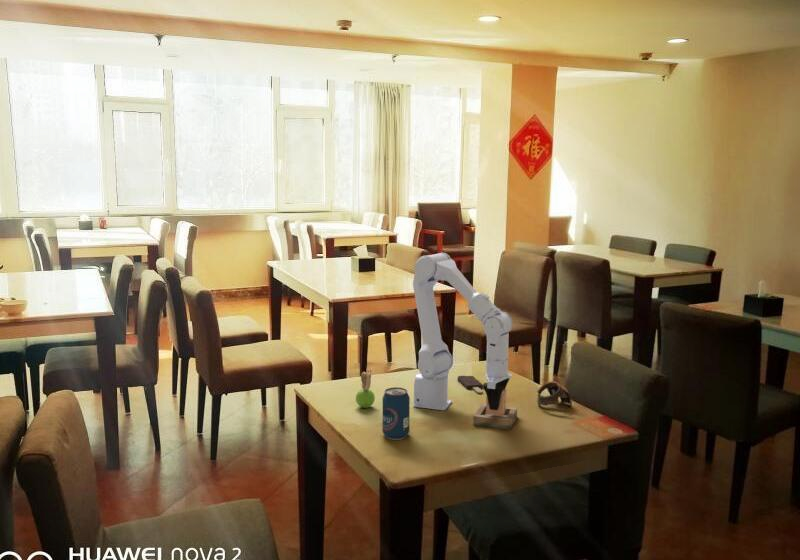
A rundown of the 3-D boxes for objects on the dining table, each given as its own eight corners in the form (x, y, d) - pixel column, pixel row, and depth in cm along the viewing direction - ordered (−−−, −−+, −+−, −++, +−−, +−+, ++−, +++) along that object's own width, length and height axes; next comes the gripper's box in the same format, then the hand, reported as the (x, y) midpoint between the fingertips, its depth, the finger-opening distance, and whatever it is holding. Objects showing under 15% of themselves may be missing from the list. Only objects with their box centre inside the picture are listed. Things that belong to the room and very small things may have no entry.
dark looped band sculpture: (577, 414, 190) (566, 391, 187) (546, 425, 192) (535, 404, 189) (569, 390, 201) (559, 368, 198) (540, 401, 203) (529, 380, 200)
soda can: (376, 436, 173) (376, 391, 171) (394, 428, 178) (394, 384, 176) (397, 443, 168) (397, 397, 166) (414, 435, 173) (415, 390, 171)
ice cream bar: (488, 394, 206) (471, 379, 220) (488, 389, 205) (471, 374, 220) (472, 395, 204) (456, 380, 219) (472, 390, 204) (456, 375, 218)
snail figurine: (361, 412, 189) (360, 371, 187) (353, 405, 195) (352, 365, 193) (378, 410, 191) (378, 369, 189) (370, 402, 197) (370, 363, 195)
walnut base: (473, 424, 180) (473, 415, 180) (481, 412, 190) (481, 403, 189) (510, 429, 177) (510, 420, 177) (516, 416, 186) (517, 408, 186)
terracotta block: (486, 414, 182) (486, 392, 181) (489, 408, 186) (490, 387, 185) (502, 416, 180) (503, 394, 179) (505, 410, 184) (506, 389, 183)
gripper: (506, 367, 172) (505, 417, 175) (516, 352, 186) (515, 399, 188) (479, 364, 175) (478, 413, 177) (491, 350, 188) (490, 396, 190)
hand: (495, 406), depth 183 cm, fingers closed on terracotta block, 4 cm apart
